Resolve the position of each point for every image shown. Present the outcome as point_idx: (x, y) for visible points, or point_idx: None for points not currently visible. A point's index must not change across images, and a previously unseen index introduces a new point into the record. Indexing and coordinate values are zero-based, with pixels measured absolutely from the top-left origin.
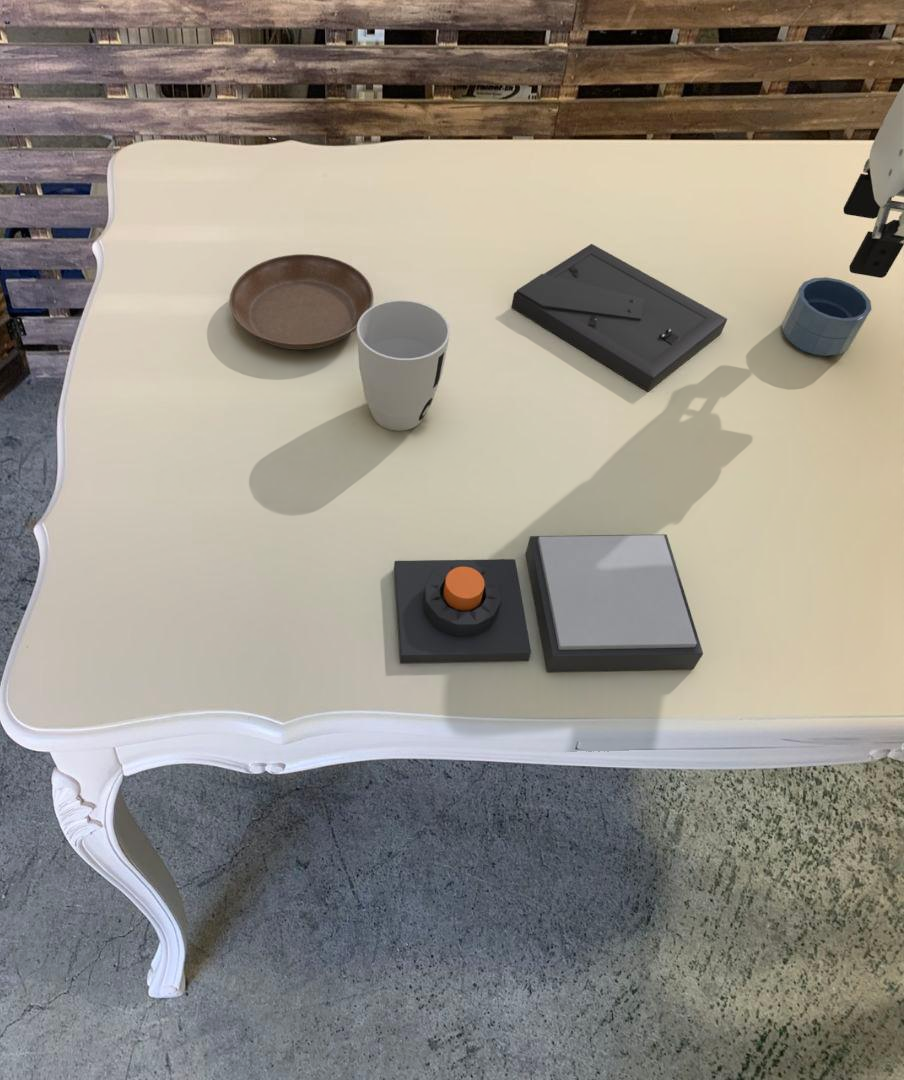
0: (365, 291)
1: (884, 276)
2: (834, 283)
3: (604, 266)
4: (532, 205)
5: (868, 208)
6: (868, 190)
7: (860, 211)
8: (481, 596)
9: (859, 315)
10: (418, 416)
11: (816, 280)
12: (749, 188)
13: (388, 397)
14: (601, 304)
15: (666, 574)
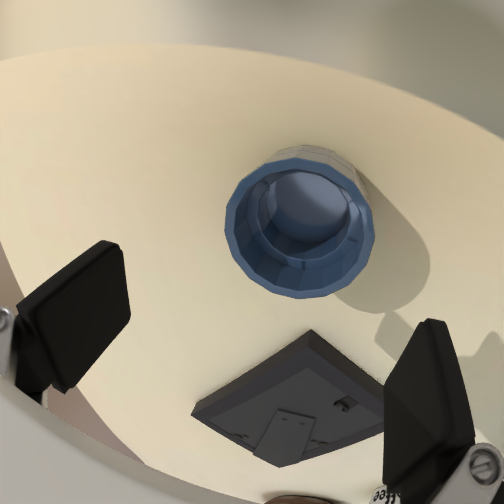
0: (289, 501)
1: (443, 321)
2: (236, 215)
3: (224, 417)
4: (138, 407)
5: (108, 291)
6: (79, 346)
7: (119, 298)
8: None
9: (353, 199)
10: None
11: (240, 254)
12: (27, 219)
13: None
14: (293, 437)
15: None
